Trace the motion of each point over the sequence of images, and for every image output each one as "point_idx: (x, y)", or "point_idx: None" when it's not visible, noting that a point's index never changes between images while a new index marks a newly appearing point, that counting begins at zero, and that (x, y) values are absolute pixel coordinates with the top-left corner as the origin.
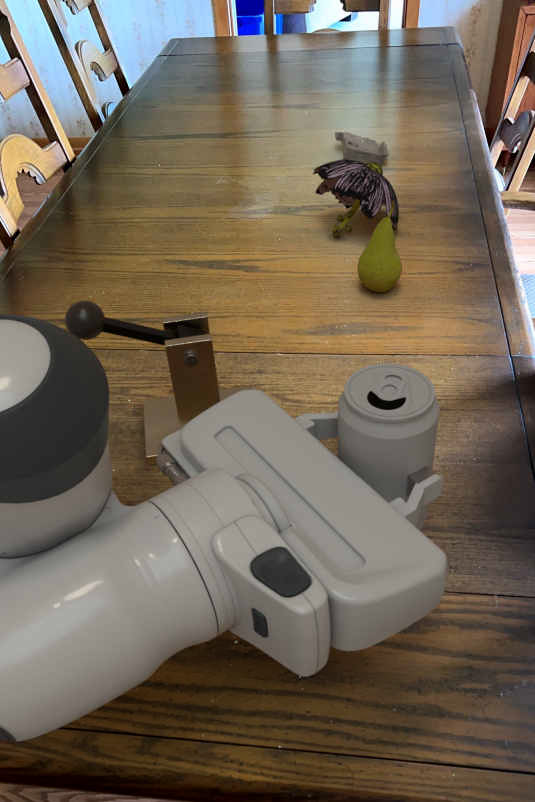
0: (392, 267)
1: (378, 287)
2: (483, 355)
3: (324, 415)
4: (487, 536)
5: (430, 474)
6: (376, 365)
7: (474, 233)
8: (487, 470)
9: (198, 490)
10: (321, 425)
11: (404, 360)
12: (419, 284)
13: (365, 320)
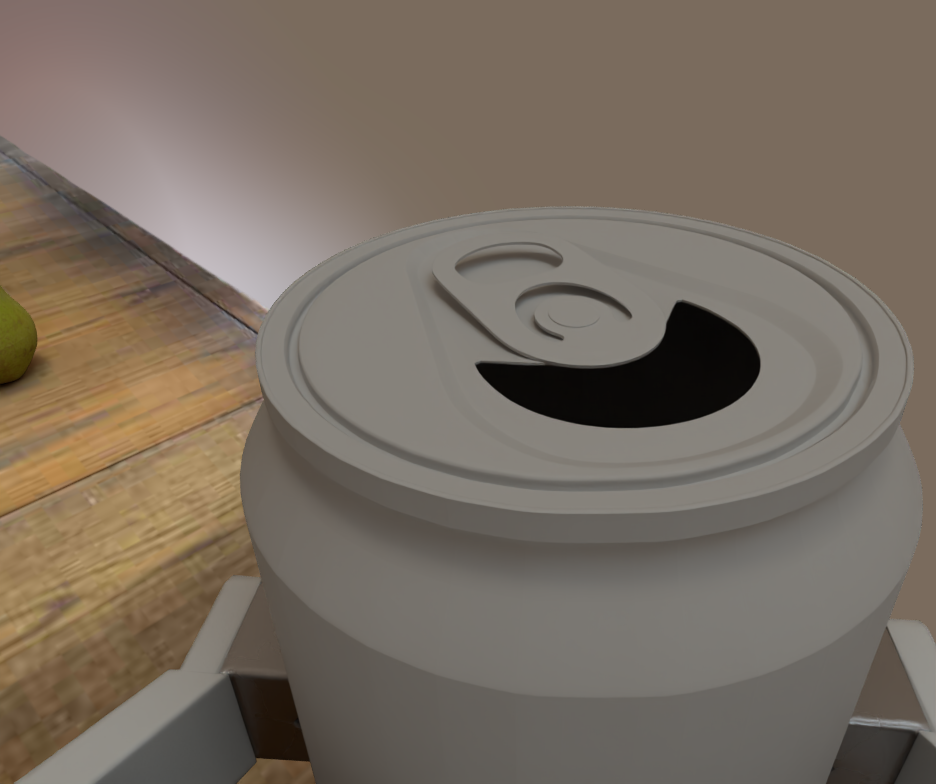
0: (13, 321)
1: (2, 370)
2: None
3: (142, 713)
4: None
5: (881, 640)
6: (337, 262)
7: (121, 254)
8: None
9: None
10: (153, 779)
11: (141, 464)
12: (79, 343)
13: (9, 437)
